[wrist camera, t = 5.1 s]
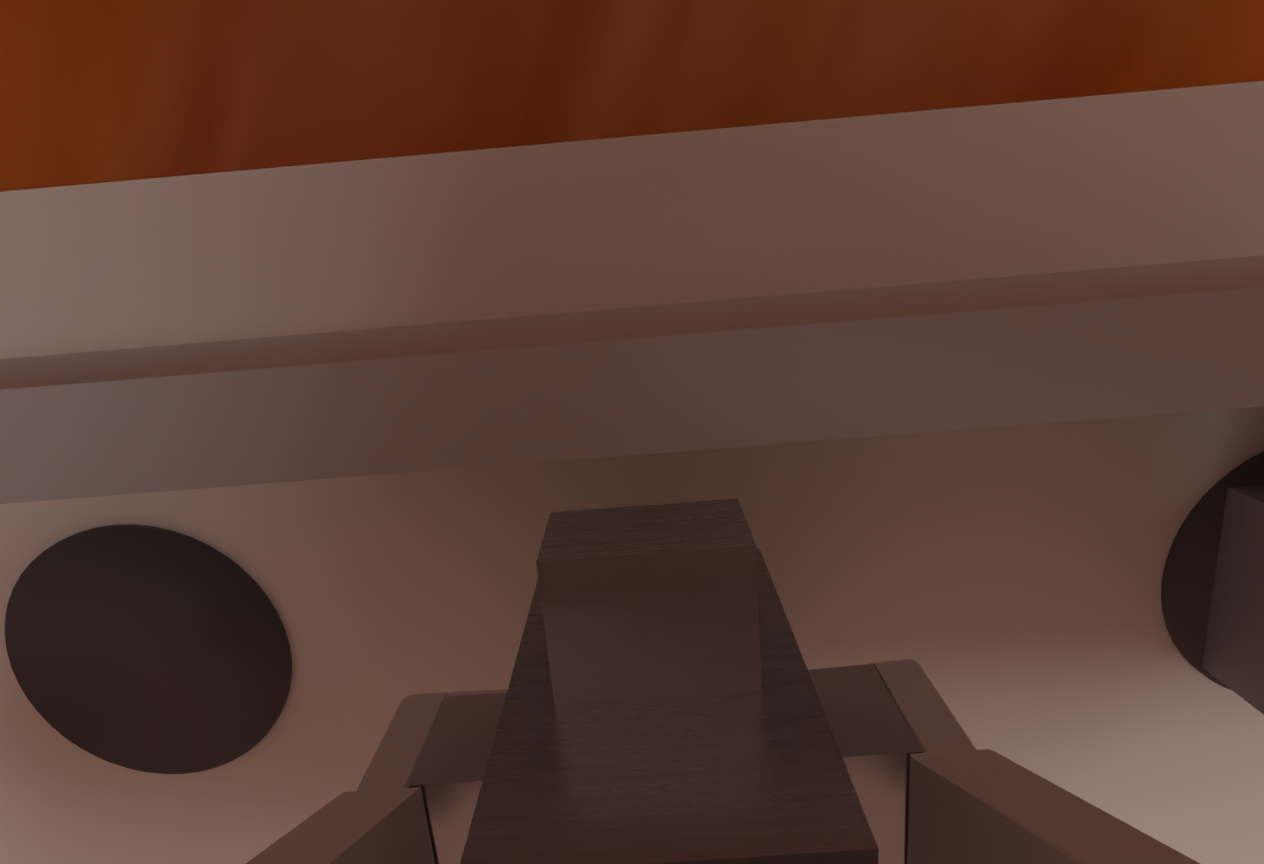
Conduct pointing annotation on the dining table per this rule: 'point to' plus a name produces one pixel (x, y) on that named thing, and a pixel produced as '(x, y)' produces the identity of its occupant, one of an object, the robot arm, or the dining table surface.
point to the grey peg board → (638, 445)
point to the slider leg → (662, 707)
